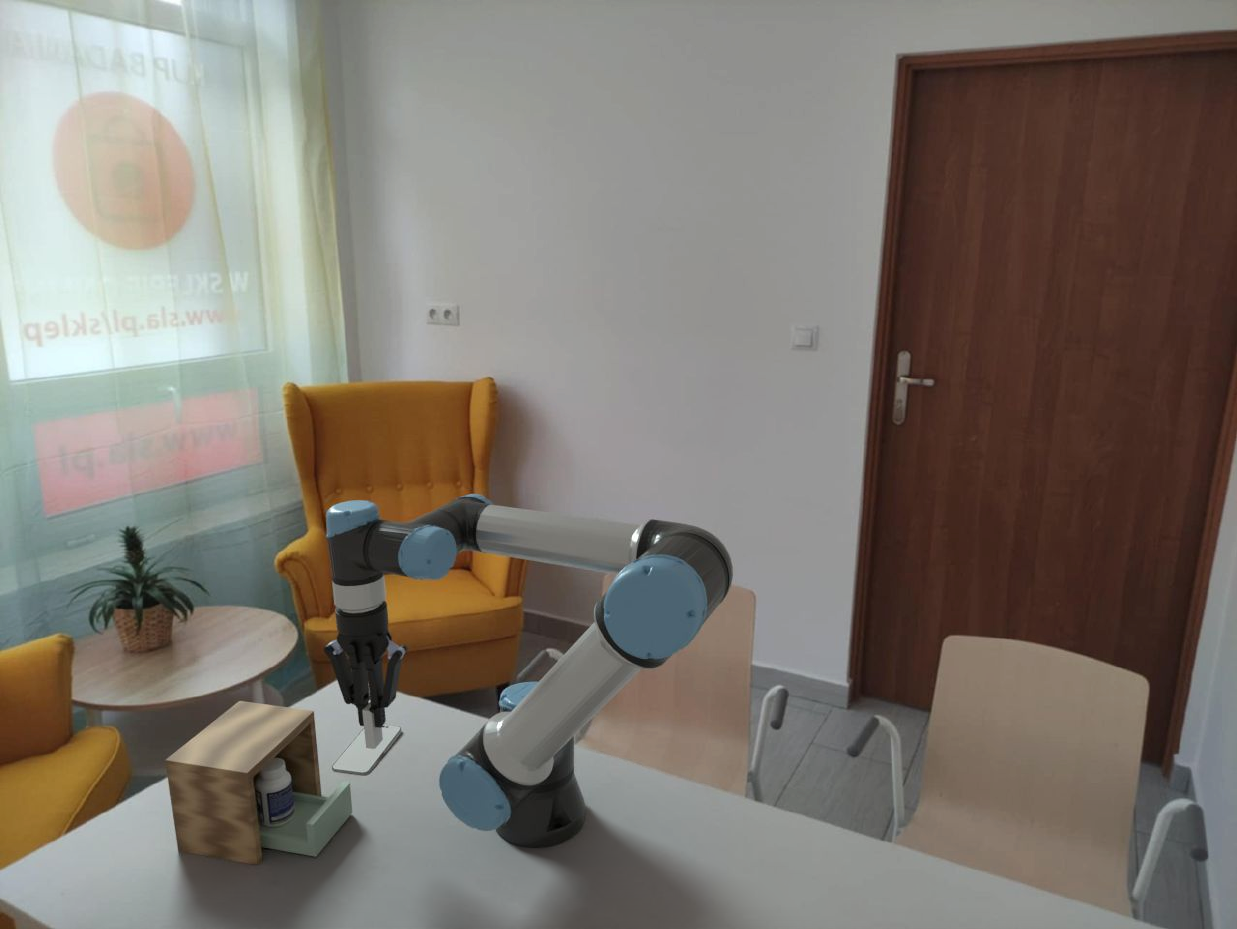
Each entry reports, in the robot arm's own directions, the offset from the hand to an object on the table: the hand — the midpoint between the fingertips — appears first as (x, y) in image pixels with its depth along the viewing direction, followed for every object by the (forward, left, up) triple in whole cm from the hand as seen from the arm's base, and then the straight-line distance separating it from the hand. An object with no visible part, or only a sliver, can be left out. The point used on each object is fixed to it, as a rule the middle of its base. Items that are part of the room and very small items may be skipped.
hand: (374, 743), depth 141 cm
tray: (+16, +3, -16) cm, 23 cm away
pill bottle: (+17, +3, -15) cm, 22 cm away
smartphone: (+13, -21, -16) cm, 29 cm away
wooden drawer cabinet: (+21, +3, -16) cm, 27 cm away
